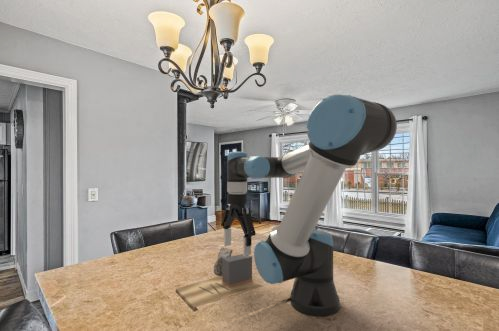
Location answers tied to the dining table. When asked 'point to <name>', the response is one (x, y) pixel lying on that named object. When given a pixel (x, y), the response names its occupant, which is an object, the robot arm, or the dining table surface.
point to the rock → (222, 254)
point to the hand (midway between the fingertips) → (236, 250)
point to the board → (211, 291)
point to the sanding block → (236, 270)
